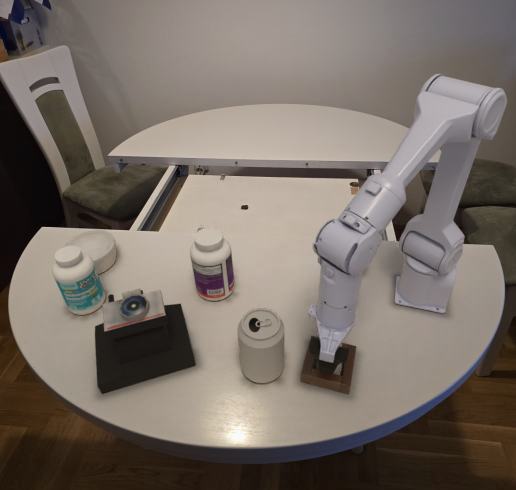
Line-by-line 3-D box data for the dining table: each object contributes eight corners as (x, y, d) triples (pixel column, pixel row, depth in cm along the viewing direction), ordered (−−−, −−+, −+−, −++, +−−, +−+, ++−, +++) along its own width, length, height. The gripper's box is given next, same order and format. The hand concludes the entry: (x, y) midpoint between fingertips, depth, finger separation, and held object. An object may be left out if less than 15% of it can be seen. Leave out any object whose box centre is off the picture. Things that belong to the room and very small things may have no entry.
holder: (354, 354, 72) (356, 345, 70) (348, 394, 66) (350, 386, 64) (310, 343, 74) (311, 335, 72) (300, 382, 68) (301, 373, 66)
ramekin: (92, 286, 87) (85, 268, 84) (59, 268, 92) (51, 251, 88) (130, 256, 94) (125, 239, 91) (98, 241, 99) (92, 224, 96)
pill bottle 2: (218, 270, 90) (211, 217, 81) (242, 288, 85) (238, 235, 76) (189, 289, 85) (178, 236, 76) (213, 309, 81) (205, 255, 72)
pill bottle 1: (71, 322, 79) (47, 272, 71) (66, 297, 84) (43, 248, 76) (109, 308, 82) (91, 258, 73) (103, 285, 87) (84, 236, 79)
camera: (77, 351, 58) (76, 276, 68) (103, 396, 68) (99, 324, 78) (186, 321, 61) (169, 254, 72) (196, 368, 71) (180, 303, 82)
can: (240, 350, 73) (235, 305, 66) (281, 346, 73) (281, 301, 66) (242, 388, 67) (237, 343, 60) (286, 383, 67) (288, 339, 60)
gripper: (320, 256, 65) (315, 313, 73) (299, 326, 54) (296, 382, 62) (365, 265, 63) (354, 321, 71) (353, 338, 52) (342, 395, 60)
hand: (330, 351), depth 67 cm, fingers open, 7 cm apart
